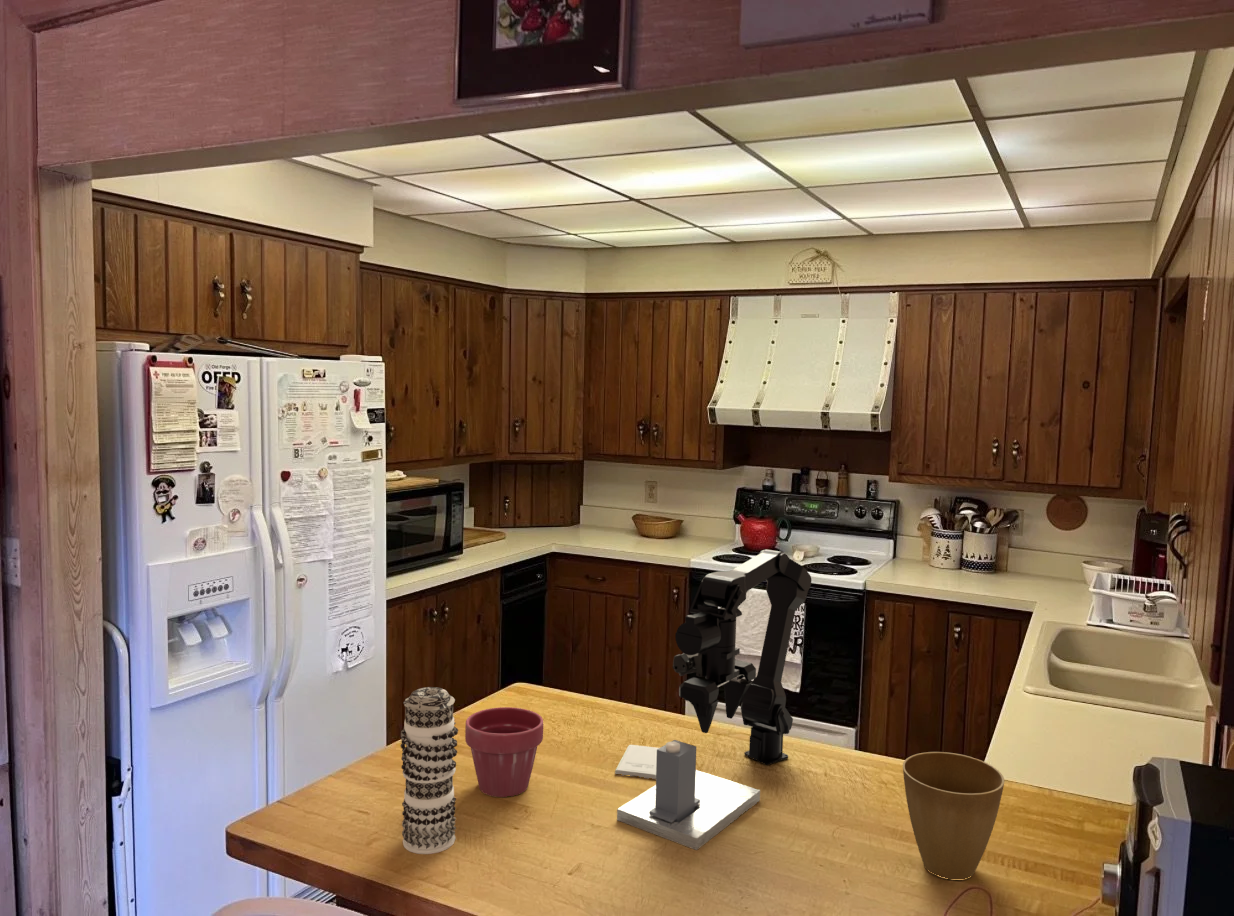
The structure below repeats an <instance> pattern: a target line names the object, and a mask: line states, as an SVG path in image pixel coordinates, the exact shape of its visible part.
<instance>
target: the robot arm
mask: <svg viewBox="0 0 1234 916" xmlns="http://www.w3.org/2000/svg"><path fill="white" fill-rule="evenodd" d="M765 581H766V582H767V583H766V590H765V591H766V593H767V596H768V599H769V602H770V603H769V604H770V610H769V615H768V620H767V624H766V630H765V634H764V640H763V644H762V648H761V649H762V650H761V655H760V659H759V664H758V668H756V666H755V664H754V663H752V662H747V661H744V660H741V659H740V660H739V659H736V656H738V655H739V654H740V653H741V650H740V647H736V638H737V637H736V635H737V618H738V617H741V616H742V615H743V612H742V610H740V609H739V607H740V606H741V605H742V604H743V603H744V602H745V600H747V593H748V592H749V591H750V590H752V589H753V588H755V587H757V586H758V585H760V584H761V583H763V582H765ZM811 585H812V576H811V574H810V573H809V572H808V569H807V568H805V567H804V565H801V564H800V563H798V562H796V561H794V560H793V559H791V558H790V556H788V554H786V553H784V552H783V551H781V550H779V551H778V550H772V549H766V548H765V549H763V550H760V552H759V553H758V554H757V555H755V556H754V557H752V558H750V559H748V560H746V561H745V562H743V563H741V564H740V565H738V566H736V567H734V568H733V569H730V570H722V571H721V570H719V571H713V572H711V573H708V574H706V575H705V576H704V577H703V579H702V580H701V581H700V584H699V586H698V588H697V592H696V593H695V596H694V597H693V601H692V603H691V605H690V608H689V613H692V614H687V615H686V616H685V620H684V622H683V623H682V624H680V625H679V626H678V627H677V630H676V632H675V635H674V637H675V641H676V642H675V643H676V645H677V647H678V649H679V651H680V652H682V654H680V653H679V654H676V655H674V656H673V661H672V669H673V670H674V672H675V673H677V674H679V676H680V677H683V676H685V675H689V674H693V673H696V674H695V675H696V677H694V676H693V677H691V678H688V679H687V680H686V681H685V680H684V681H682V683H681V684H680V685H679V688H678V695H679V698H682V699H684V701H686V702H689V703H690V704H691V705H692V707H693V709H694V710H695V715H696V717H697V720H698V723H699V724H698V725H699V728H700V730H701V732H702V733H704V734H708V733H709V730H710V728H711V725H712V722H713V719H714V716H715V713H716V711H717V708H718V703H719V699H718V696H719V694H720V693H719V691H720V690H719V687H721V686H722V687H723V688H724V704H725V714H726V718H728V719H733V718H734V716H735V714H736V712H737V710H738V709H739V706H740V712H741V718H742V722H743V725H744V726H749V727H750V735H749V744H748V745H749V747H748V748H749V750H747V751H743V752H744V754H743V755H745V756H746V757H748V758H750V759H752V760H755V761H757V762H759V763H761V764H763V765H766V766H770V765H773V764H775V763H778V762H781V761H783V760H786V759H788V758H789V755H788V754H787V753H785V752H784V751H783V747H784V735H788V734H790V730H792V726H793V720H794V719H793V717H792V715H791V714H790V712H789V711H788V710H787V709H788V708H786V703H787V695H786V693H785V690H784V687H783V684H782V678H783V675H784V674H783V673H784V668H785V664H786V659H787V655H788V654H787V653H788V649H789V644H790V639H791V633H792V628H793V623H794V618H795V614H796V612H797V610H798V608H800V607H801V605H803V604H804V602H806V599H807V597H808V593H809V590H810V588H811ZM698 677H701V678H698ZM703 677H704V678H705V679H702V678H703Z"/></svg>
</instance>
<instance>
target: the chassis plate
mask: <svg viewBox="0 0 1234 916" xmlns="http://www.w3.org/2000/svg"><path fill="white" fill-rule="evenodd" d="M695 798H697V799H700V803H699V804H698V805H696V806H695V811H694V813H692V814H691V815H690V816H688V817H687V818H685V819H684V820H682V821H681V822H680V823H678V822H675V821H673V822H672V823H671V822H668V821H666V820H663V819H660V818H658V817H655V816H652V815H649V811H650V810H652V809H653V808H655V802H656V784H654V786H652V787H650V788H648V789H646V790H645V791H644V792H642V793H640V794H639V795H637V796H636V797H634V798H632V799H631V800H629V801H628V802H626V803H624V804H623V805H621V806H619V807H618V808H617V810H616V821H619V822H622V823H623V824H626V825H629V826H631V827H634V828H637V829H639V830H641V831H644V832H647V833H650V834H653V835H656V836H658V837H660V838H663V839H666V840H668V841H671V842H674V843H677V844H679V845H682V846H683V847H684V846H685V847H687V848H690V849H692V850H696V851H698V850H699V849H700V848H701V847H703V846H704V845H705V844H706V843H708V842H709V841H710V840H712V838H713V839H714V837H715V836H717V835H718V834H720V832H721V831H723V830H725V828H727V827H728V826H729V825H730V823H731V824H732V823H733V822H735V821H736V820H737V819H739V818H740V817H741V816H742V815H744V814H745V813H746V812H747V811H748V809H749V808H750V809H752V808H753V807H752V806H755V805H757V804H758V803H759V802H760V801H761V789H757V788H755V787H751V786H749V785H748V786H747V785H745V784H742V783H738V782H736V781H732V780H729V779H727V778H724V777H720V776H716V775H713V774H710V773H707V772H704V771H701V770H698V769H696V777H695ZM757 802H758V803H757ZM750 809H749V810H750ZM745 811H746V812H745ZM744 812H745V813H744ZM743 813H744V814H743ZM741 814H742V815H741ZM740 815H741V816H740ZM739 816H740V817H739ZM734 820H735V821H734Z"/></svg>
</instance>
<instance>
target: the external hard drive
mask: <svg viewBox="0 0 1234 916" xmlns="http://www.w3.org/2000/svg"><path fill="white" fill-rule="evenodd" d="M659 748H660V747H655V746H648V745H647V746H646V745H637V744H629V745H628V746H627V747H626V749H625V752H624V753H623V755H622V758H621V759H620V761H619V763H618V765H617V767H616V768H615V771H614V775H615V774H622V775H621V776H624V775H630V776H629V777H637V776H639V777H638V778H641V777H644V778H643V779H649V778H652V780H656V762H657V749H659Z"/></svg>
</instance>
